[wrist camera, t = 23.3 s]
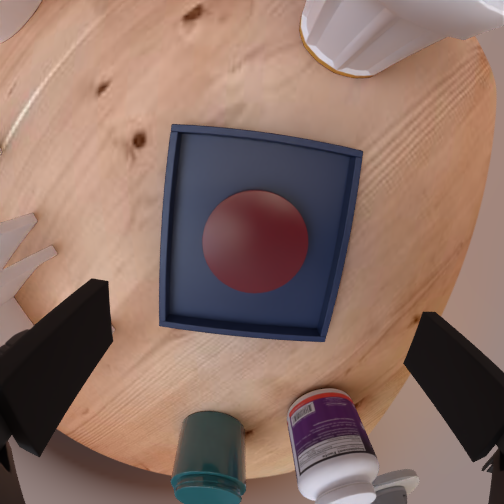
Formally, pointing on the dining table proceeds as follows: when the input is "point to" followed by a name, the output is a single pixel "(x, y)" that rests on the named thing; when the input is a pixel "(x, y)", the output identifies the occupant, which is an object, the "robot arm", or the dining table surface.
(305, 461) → the pill bottle
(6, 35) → the tall pillar cylinder
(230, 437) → the jar
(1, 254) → the storage container
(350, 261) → the dining table surface
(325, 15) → the cup
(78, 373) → the robot arm
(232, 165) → the tray
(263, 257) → the lid
